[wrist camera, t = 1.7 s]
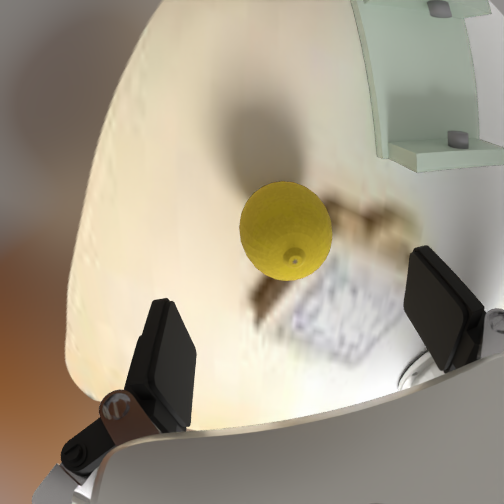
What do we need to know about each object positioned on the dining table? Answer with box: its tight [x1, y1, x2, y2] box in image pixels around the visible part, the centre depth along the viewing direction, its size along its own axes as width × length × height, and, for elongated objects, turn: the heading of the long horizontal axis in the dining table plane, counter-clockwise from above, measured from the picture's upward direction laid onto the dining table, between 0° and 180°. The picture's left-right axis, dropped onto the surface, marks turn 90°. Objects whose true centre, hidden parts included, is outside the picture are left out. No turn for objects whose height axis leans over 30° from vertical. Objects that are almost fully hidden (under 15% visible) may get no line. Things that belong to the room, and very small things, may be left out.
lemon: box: [239, 181, 332, 281], centre depth 18 cm, size 6×6×8 cm
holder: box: [351, 0, 504, 173], centre depth 14 cm, size 13×10×5 cm
